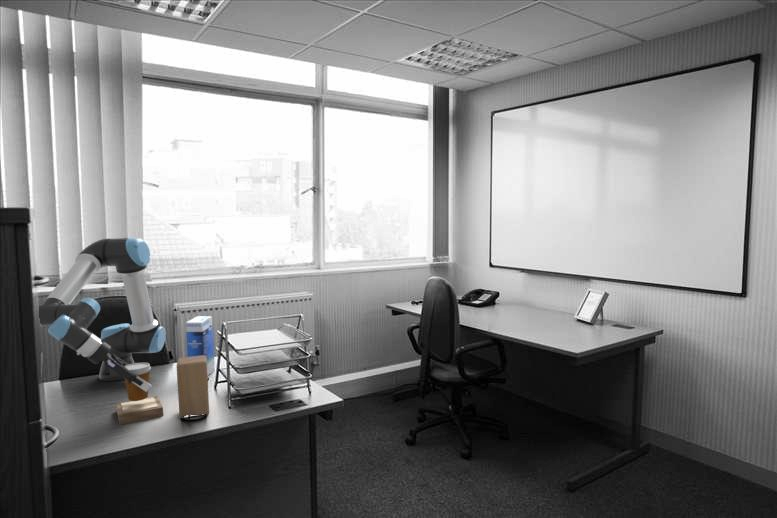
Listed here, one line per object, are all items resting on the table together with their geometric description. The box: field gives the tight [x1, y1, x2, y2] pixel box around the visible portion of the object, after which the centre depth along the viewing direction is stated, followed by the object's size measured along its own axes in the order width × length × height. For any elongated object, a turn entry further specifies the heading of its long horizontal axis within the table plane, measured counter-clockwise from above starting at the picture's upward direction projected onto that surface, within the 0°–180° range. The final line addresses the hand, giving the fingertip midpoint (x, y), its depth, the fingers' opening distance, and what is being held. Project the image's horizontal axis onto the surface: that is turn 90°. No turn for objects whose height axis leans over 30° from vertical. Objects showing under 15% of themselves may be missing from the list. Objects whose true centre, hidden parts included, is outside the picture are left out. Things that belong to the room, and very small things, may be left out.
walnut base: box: [115, 395, 164, 425], centre depth 182 cm, size 14×14×3 cm
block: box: [176, 355, 210, 419], centre depth 181 cm, size 10×10×20 cm
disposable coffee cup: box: [123, 362, 152, 401], centre depth 181 cm, size 10×10×12 cm
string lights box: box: [185, 315, 216, 377], centre depth 225 cm, size 13×8×26 cm, turn 0°
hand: (147, 384), depth 183 cm, fingers closed on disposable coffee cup, 9 cm apart
